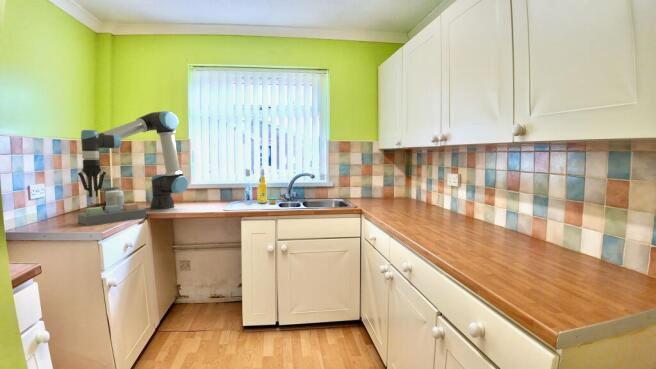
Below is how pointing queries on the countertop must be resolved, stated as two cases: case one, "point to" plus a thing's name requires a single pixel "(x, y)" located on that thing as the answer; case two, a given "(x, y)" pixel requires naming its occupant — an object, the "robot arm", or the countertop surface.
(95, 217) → the console
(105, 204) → the milk frother
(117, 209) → the slate button
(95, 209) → the green button
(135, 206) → the terracotta button
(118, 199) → the supplement tub
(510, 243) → the countertop surface
